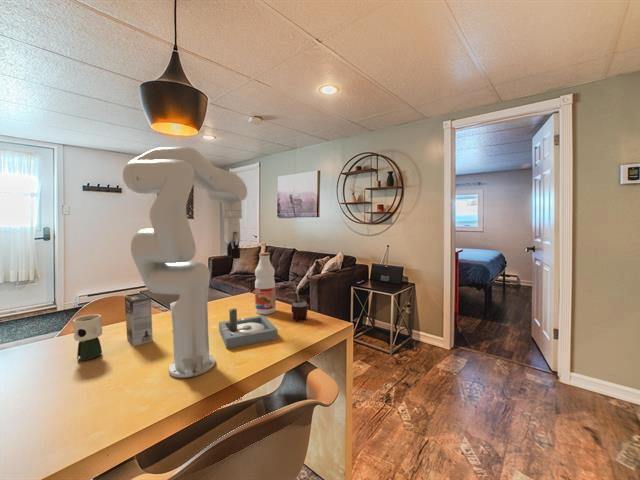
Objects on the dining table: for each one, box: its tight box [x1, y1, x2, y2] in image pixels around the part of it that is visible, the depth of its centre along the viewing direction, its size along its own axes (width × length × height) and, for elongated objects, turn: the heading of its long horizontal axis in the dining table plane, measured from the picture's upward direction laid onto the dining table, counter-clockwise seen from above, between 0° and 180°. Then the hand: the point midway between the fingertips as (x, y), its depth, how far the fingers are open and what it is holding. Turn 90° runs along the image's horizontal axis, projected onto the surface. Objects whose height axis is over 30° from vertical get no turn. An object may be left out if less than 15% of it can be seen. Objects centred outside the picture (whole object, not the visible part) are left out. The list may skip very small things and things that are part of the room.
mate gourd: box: [290, 282, 309, 323], centre depth 127 cm, size 8×8×15 cm
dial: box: [229, 308, 264, 336], centre depth 111 cm, size 13×13×9 cm
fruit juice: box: [254, 251, 277, 315], centre depth 138 cm, size 9×9×28 cm
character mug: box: [72, 313, 103, 361], centre depth 93 cm, size 11×7×13 cm, turn 70°
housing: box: [218, 314, 279, 350], centre depth 111 cm, size 18×18×4 cm
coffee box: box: [124, 293, 154, 347], centre depth 106 cm, size 9×6×16 cm
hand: (233, 257), depth 120 cm, fingers open, 9 cm apart
